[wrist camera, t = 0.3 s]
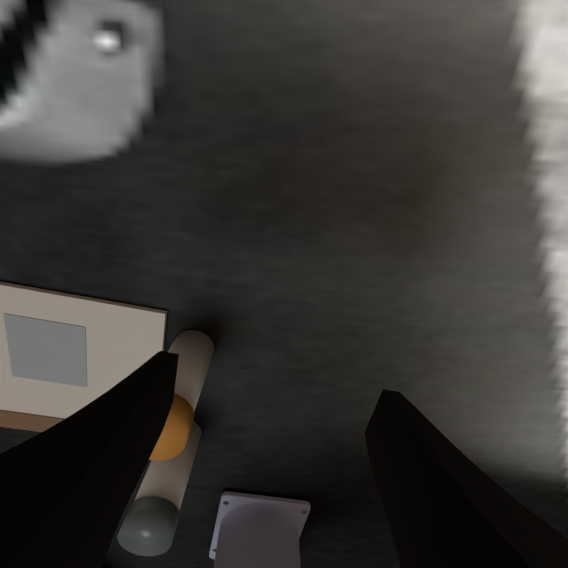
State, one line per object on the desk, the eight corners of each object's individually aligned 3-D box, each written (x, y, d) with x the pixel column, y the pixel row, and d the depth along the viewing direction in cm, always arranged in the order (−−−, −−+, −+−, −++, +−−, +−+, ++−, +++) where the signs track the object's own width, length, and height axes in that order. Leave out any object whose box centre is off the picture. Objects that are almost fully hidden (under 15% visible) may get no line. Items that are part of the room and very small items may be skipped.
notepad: (156, 441, 25) (153, 447, 24) (-18, 418, 23) (-24, 423, 23) (167, 311, 20) (164, 314, 20) (-46, 273, 19) (-55, 276, 18)
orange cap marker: (212, 368, 22) (183, 464, 15) (170, 361, 22) (120, 456, 15) (218, 332, 21) (189, 419, 14) (173, 325, 21) (121, 409, 14)
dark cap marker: (200, 447, 25) (169, 558, 18) (163, 442, 25) (117, 552, 18) (204, 420, 24) (173, 527, 17) (165, 414, 24) (117, 521, 17)
